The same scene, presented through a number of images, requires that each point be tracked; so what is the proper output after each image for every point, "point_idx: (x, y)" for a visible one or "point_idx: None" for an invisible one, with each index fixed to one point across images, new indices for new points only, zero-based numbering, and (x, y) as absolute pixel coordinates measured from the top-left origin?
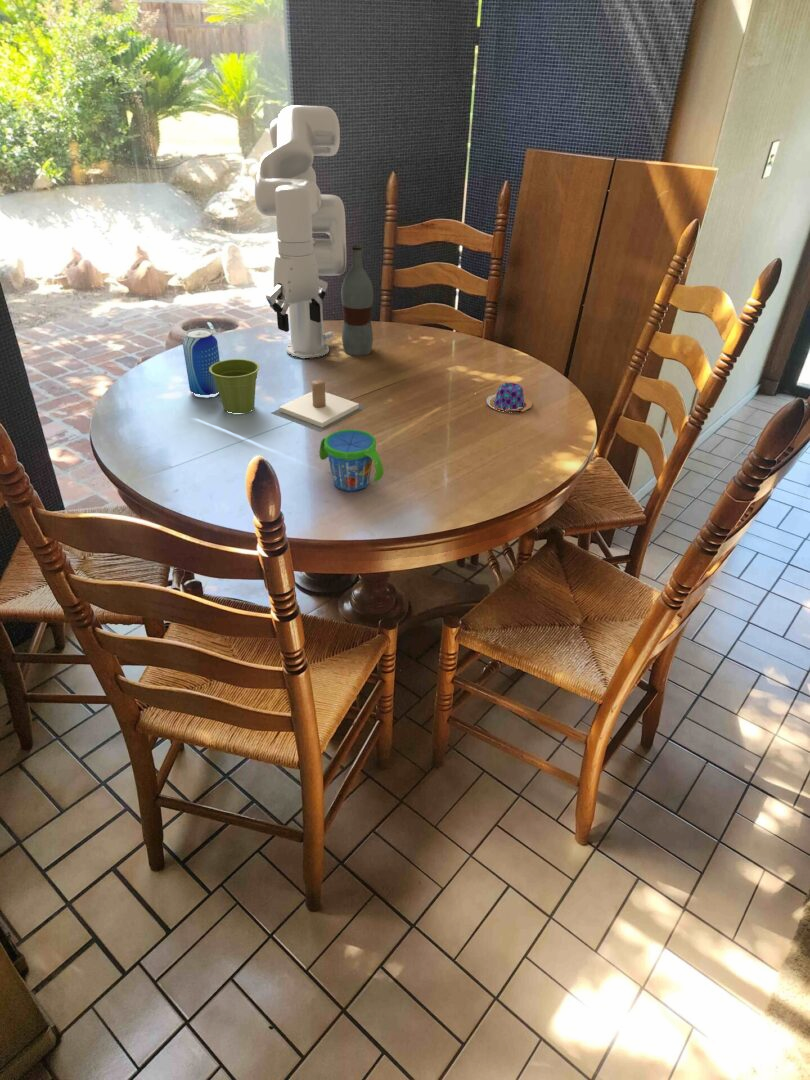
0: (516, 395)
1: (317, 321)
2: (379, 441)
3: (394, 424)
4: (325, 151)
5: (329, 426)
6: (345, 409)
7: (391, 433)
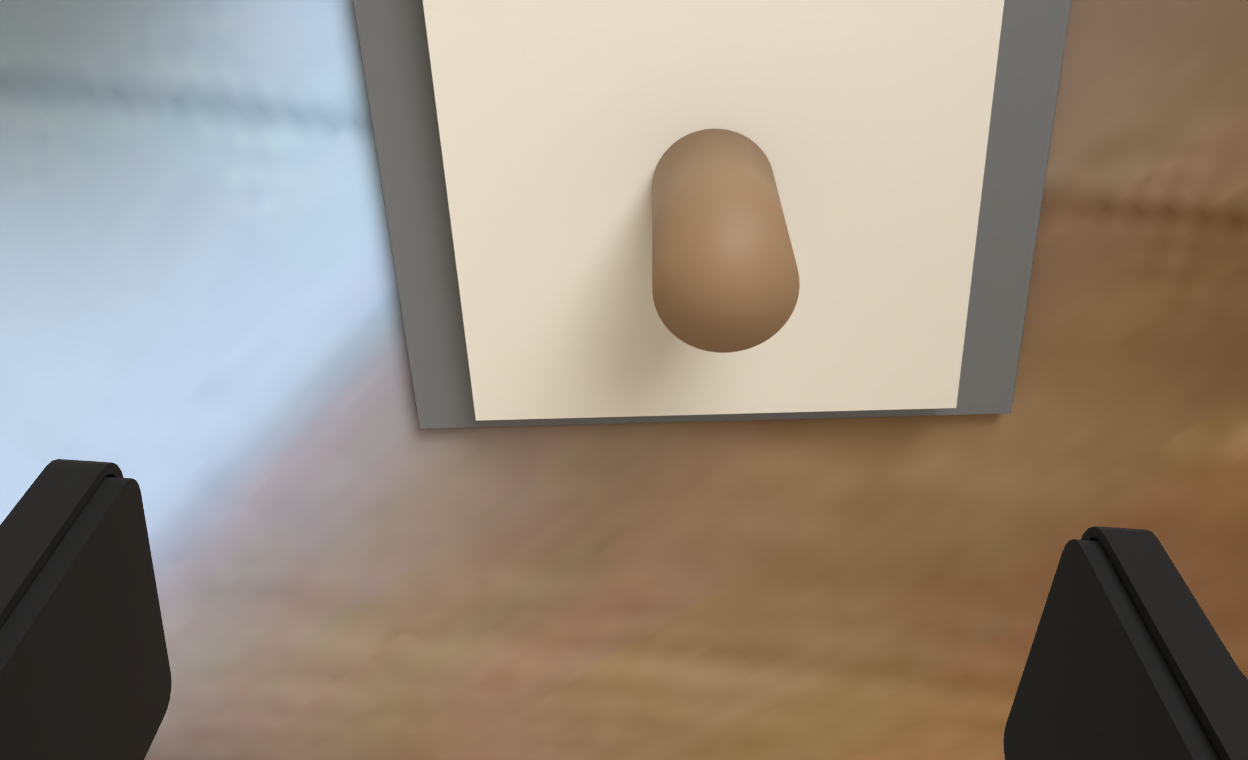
0: None
1: (1009, 741)
2: (629, 716)
3: (892, 661)
4: None
5: (532, 425)
6: (792, 399)
7: (768, 709)
